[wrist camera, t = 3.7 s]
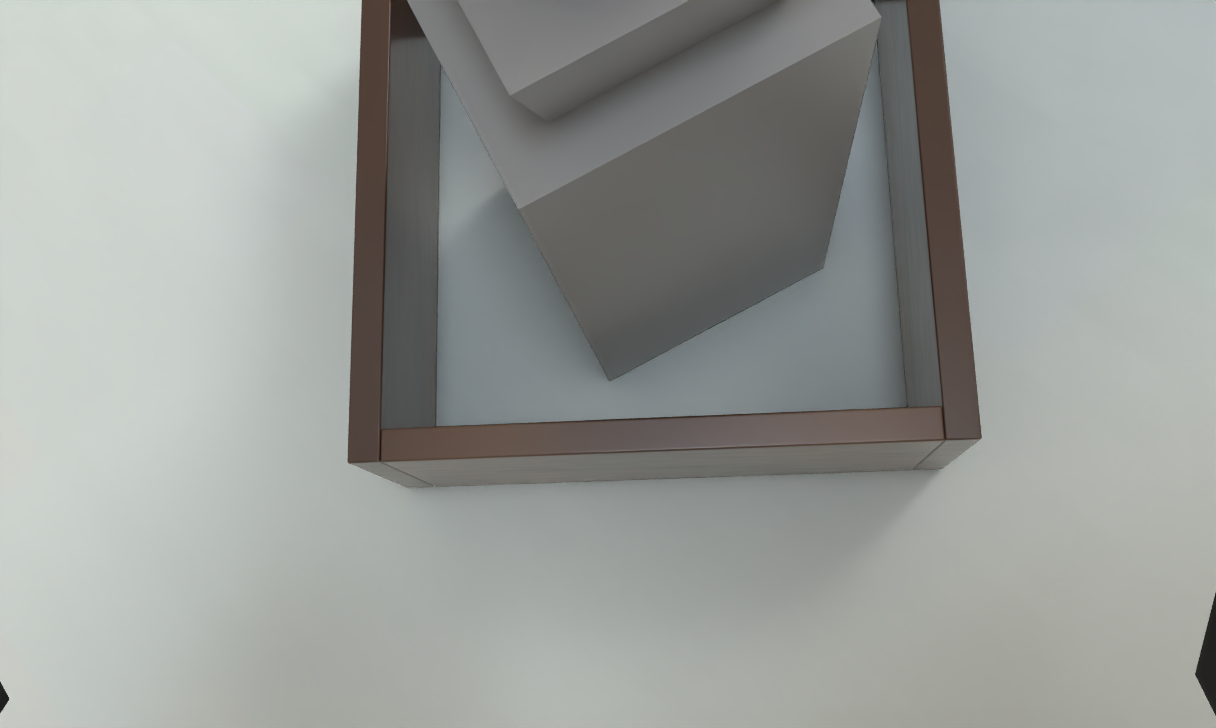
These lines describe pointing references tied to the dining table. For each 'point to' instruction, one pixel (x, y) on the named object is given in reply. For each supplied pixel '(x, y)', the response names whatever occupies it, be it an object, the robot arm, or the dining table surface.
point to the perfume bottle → (663, 146)
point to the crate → (665, 446)
